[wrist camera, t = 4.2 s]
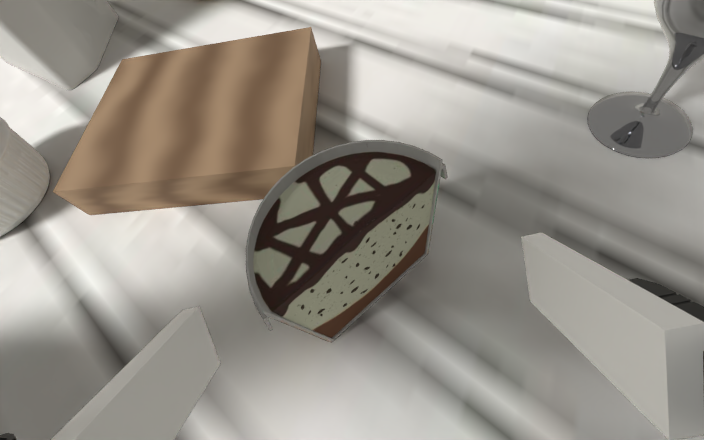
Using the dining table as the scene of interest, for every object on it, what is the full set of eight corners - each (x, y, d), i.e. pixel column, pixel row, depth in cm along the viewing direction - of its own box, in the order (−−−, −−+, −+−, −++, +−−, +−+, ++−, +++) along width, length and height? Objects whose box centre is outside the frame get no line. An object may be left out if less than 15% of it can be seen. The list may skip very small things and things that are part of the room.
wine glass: (644, 76, 31) (801, -173, 18) (726, 137, 26) (1006, -132, 14) (560, 110, 30) (657, -118, 18) (630, 177, 26) (822, -58, 14)
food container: (385, 194, 29) (369, 99, 21) (442, 240, 26) (449, 153, 18) (266, 294, 27) (192, 232, 18) (314, 358, 24) (252, 320, 15)
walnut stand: (89, 215, 34) (52, 191, 31) (146, 88, 43) (122, 59, 40) (309, 194, 31) (294, 166, 27) (321, 61, 40) (311, 27, 36)
